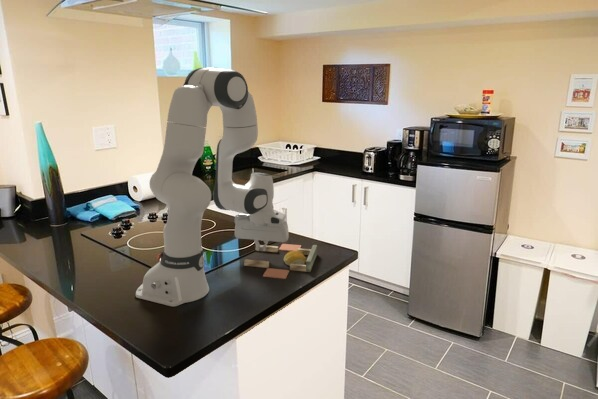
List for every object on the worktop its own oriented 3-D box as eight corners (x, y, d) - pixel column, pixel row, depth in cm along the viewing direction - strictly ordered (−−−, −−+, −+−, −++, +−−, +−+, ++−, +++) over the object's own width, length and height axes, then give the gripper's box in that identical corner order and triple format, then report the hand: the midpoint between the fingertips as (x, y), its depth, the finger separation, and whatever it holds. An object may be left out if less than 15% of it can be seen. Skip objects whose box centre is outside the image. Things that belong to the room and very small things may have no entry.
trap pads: (263, 276, 144) (263, 275, 143) (282, 244, 171) (282, 243, 171) (285, 278, 142) (285, 277, 142) (301, 246, 170) (301, 245, 170)
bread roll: (302, 256, 161) (302, 246, 160) (308, 266, 152) (308, 256, 151) (281, 258, 159) (281, 248, 158) (286, 268, 150) (286, 258, 149)
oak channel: (244, 265, 152) (244, 255, 151) (256, 249, 166) (256, 239, 165) (310, 271, 147) (310, 261, 146) (316, 254, 162) (317, 245, 161)
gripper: (231, 215, 152) (232, 251, 156) (286, 220, 149) (285, 256, 152) (237, 210, 158) (237, 244, 162) (289, 215, 155) (289, 249, 158)
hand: (261, 250), depth 157 cm, fingers closed
